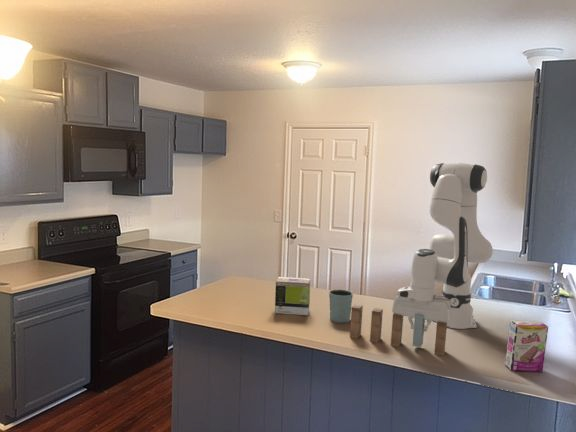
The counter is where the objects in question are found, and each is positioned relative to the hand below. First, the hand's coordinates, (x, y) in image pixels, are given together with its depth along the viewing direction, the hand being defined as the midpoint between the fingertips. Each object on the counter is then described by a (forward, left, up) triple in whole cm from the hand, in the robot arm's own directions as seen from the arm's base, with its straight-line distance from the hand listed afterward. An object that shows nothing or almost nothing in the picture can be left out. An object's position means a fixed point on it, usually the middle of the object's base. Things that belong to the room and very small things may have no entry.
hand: (418, 329), depth 182 cm
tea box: (-15, -58, -7) cm, 60 cm away
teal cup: (-16, -36, -7) cm, 40 cm away
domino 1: (0, -24, -7) cm, 25 cm away
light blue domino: (0, 0, -6) cm, 6 cm away
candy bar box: (0, +36, -7) cm, 37 cm away
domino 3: (0, -8, -7) cm, 11 cm away
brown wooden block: (0, +8, -7) cm, 11 cm away
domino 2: (0, -16, -7) cm, 18 cm away
